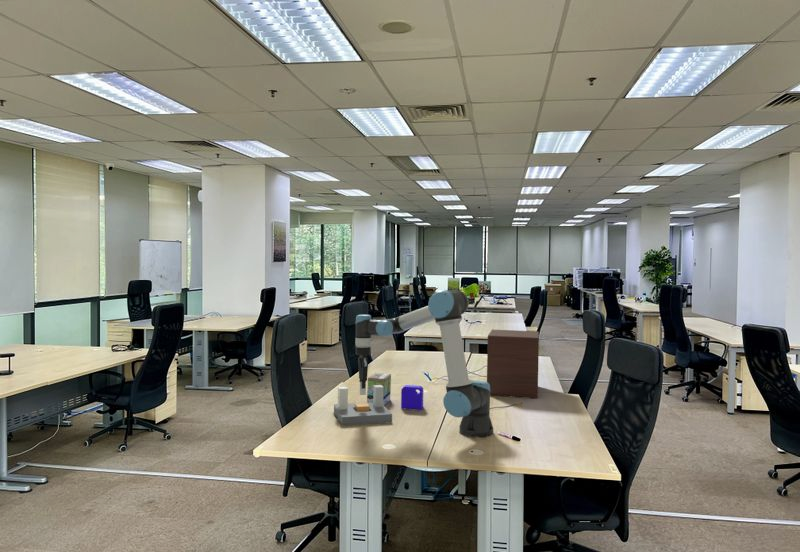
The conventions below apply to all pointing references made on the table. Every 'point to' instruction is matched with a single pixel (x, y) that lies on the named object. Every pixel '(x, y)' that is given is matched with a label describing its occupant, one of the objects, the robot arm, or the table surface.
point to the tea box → (379, 380)
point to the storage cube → (513, 363)
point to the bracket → (412, 397)
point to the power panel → (362, 415)
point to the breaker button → (362, 407)
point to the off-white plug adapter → (342, 397)
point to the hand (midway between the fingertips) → (362, 394)
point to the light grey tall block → (378, 395)
